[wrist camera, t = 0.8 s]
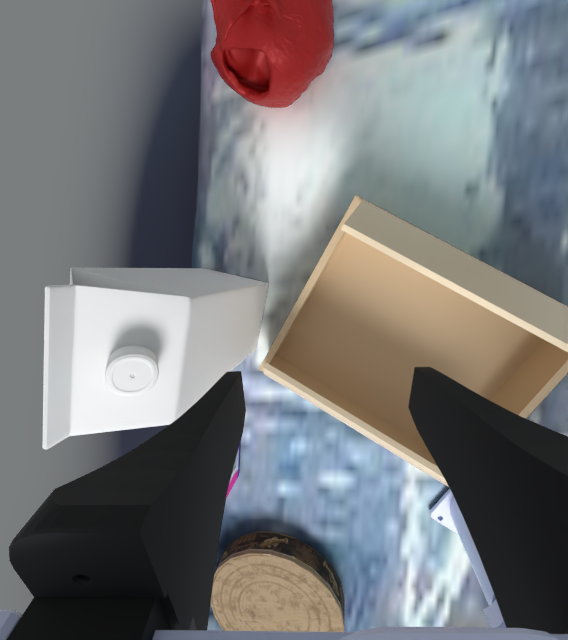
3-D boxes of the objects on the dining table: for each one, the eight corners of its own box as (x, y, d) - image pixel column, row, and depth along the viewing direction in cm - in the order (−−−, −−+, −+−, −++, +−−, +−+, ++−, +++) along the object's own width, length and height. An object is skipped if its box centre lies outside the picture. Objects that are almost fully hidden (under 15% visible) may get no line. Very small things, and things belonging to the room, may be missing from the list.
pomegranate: (299, -37, 23) (273, -237, 14) (358, 72, 23) (370, -55, 14) (206, 49, 26) (132, -75, 17) (261, 146, 26) (218, 77, 17)
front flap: (597, 329, 19) (604, 325, 19) (635, 388, 16) (643, 385, 15) (360, 204, 21) (363, 199, 21) (340, 229, 17) (343, 223, 17)
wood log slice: (318, 520, 32) (315, 545, 29) (362, 635, 34) (364, 669, 31) (201, 536, 36) (189, 560, 33) (246, 638, 38) (237, 669, 35)
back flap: (266, 370, 25) (264, 374, 25) (266, 362, 20) (263, 367, 20) (456, 486, 23) (454, 490, 23) (511, 511, 18) (509, 517, 18)
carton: (565, 318, 23) (608, 327, 20) (443, 460, 28) (458, 491, 24) (354, 206, 25) (355, 195, 21) (269, 356, 29) (258, 369, 26)
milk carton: (196, 332, 31) (-21, 424, 13) (205, 268, 29) (-27, 266, 11) (256, 348, 30) (116, 477, 11) (269, 282, 28) (130, 308, 10)
